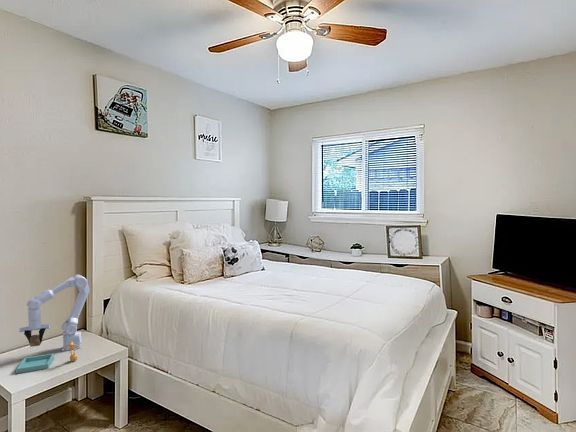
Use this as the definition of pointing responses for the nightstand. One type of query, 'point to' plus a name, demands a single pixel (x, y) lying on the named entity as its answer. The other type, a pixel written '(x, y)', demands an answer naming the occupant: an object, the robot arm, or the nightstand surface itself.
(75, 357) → the figurine
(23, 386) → the nightstand surface
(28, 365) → the teal tray
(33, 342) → the walnut block
